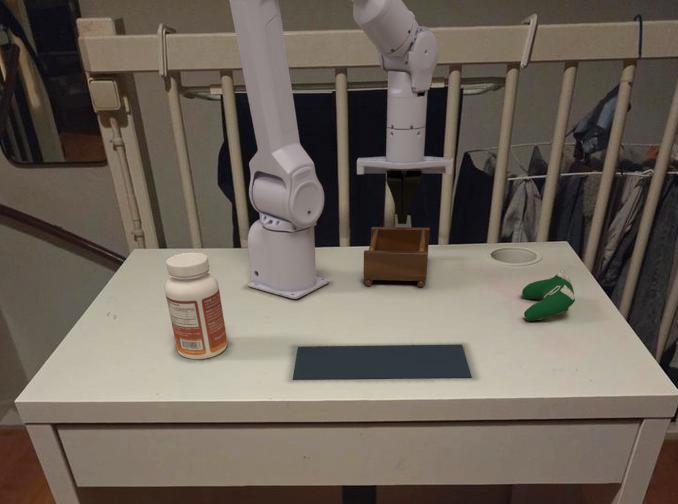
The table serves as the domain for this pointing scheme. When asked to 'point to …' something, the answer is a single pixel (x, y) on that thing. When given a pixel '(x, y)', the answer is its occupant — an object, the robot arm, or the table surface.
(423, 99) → the robot arm
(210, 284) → the pill bottle
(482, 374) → the table surface
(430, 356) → the mat
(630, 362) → the table surface
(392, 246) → the brown wooden box
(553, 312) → the green slippers
